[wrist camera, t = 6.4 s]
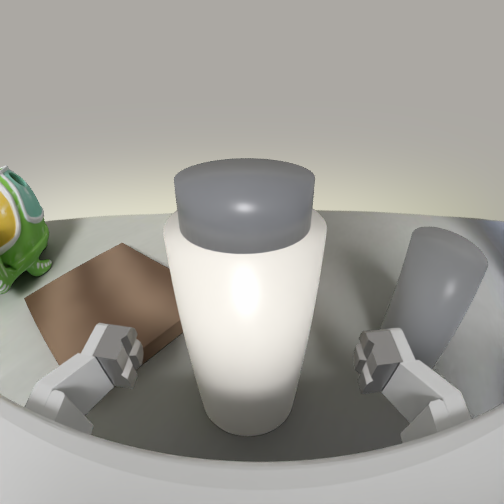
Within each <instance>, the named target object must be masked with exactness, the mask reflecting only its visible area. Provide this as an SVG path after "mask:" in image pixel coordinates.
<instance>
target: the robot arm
mask: <svg viewBox="0 0 504 504" xmlns="http://www.w3.org/2000/svg"><path fill="white" fill-rule="evenodd" d="M137 335H138V334H137V332H136V330H135V328H132V327H125V326H118V325H112V324H105V323H98V324H97V325H96V326H95V328H94V330H93V331H92V333H91V335H90V337H89V339H88V341H87V343H86V345H85V346H84V348H83V350H82V352H81V354H80V353H77V354H76V355H74V356H73V357H71V358H70V359H69V360H67V361H66V362H64V363H63V364H61V365H60V366H58V367H57V368H56V369H54V370H53V371H51V372H50V373H48V374H47V375H45V376H44V377H43V378H41V379H40V380H38V381H37V382H36V384H35V386H34V388H33V390H32V392H31V394H30V396H29V398H28V400H27V403H26V405H25V407H23V406H21V405H19V404H17V403H15V402H14V401H12V400H10V399H8V398H6V397H4V396H3V395H1V394H0V504H504V403H503V404H501V405H499V406H497V407H495V408H493V409H491V410H489V411H487V412H485V413H483V414H481V415H479V416H477V417H474V418H472V419H471V416H470V413H469V411H468V408H467V406H466V403H465V401H464V398H463V396H462V394H461V391H459V390H458V389H457V388H455V387H454V386H453V385H451V384H450V383H449V382H448V381H446V380H445V379H444V378H442V377H441V376H440V375H438V374H437V373H436V372H434V371H433V370H432V369H430V368H429V367H428V366H427V365H425V364H424V363H423V362H421V361H420V360H415V357H414V355H413V353H412V351H411V348H410V346H409V344H408V342H407V340H406V338H405V335H404V333H403V331H402V329H400V328H390V329H379V330H369V331H363V332H362V333H361V334H360V337H359V340H360V343H359V344H358V345H357V346H356V347H355V350H354V355H353V363H354V368H355V370H356V371H357V372H358V373H359V374H360V376H359V378H358V383H359V387H360V391H361V394H366V393H374V392H382V394H383V395H384V396H385V397H386V398H387V399H388V400H389V401H390V402H391V403H392V404H393V405H394V406H395V407H396V409H397V410H398V411H399V412H400V413H401V414H402V415H403V416H404V417H405V418H406V419H407V420H408V421H409V422H410V424H409V425H408V426H407V427H406V428H405V429H404V430H403V431H402V432H401V434H400V435H401V439H402V443H401V444H397V445H394V446H390V447H385V448H381V449H377V450H372V451H367V452H362V453H356V454H350V455H344V456H337V457H330V458H321V459H311V460H298V461H277V462H245V461H224V460H211V459H201V458H193V457H185V456H178V455H172V454H166V453H160V452H155V451H150V450H145V449H141V448H136V447H132V446H128V445H124V444H120V443H117V442H113V441H110V440H106V439H103V438H100V437H96V436H93V435H91V433H92V429H93V424H92V422H90V421H89V420H88V419H87V418H86V416H85V415H86V414H87V413H88V412H89V411H90V410H91V409H92V408H93V407H94V406H95V405H96V404H97V403H98V402H99V401H100V400H101V399H102V398H103V397H104V396H105V395H106V394H107V393H108V392H109V391H110V390H111V389H112V388H113V387H114V386H119V387H124V388H131V389H133V388H134V385H135V382H136V379H137V376H138V374H137V372H136V369H137V368H139V367H140V366H141V364H142V361H143V353H144V352H143V346H142V344H141V342H140V341H139V340H137V339H136V337H137Z"/></svg>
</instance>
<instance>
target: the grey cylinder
mask: <svg viewBox="0 0 504 504" xmlns="http://www.w3.org/2000/svg"><path fill="white" fill-rule="evenodd" d="M487 267H488V261H487V258H486V256H485V255H484V253H483V252H482V251H481V250H480V249H479V248H478V247H477V246H476V245H475V244H473V243H472V242H471V241H469V240H468V239H466V238H464V237H462V236H460V235H458V234H456V233H454V232H451V231H448V230H445V229H441V228H436V227H420V228H417V229H415V230H414V231H413V233H412V236H411V240H410V243H409V247H408V250H407V254H406V257H405V260H404V264H403V267H402V270H401V273H400V276H399V279H398V282H397V285H396V288H395V291H394V293H393V296H392V299H391V302H390V304H389V307H388V309H387V312H386V315H385V317H384V320H383V322H382V325H381V327H380V329H390V328H400V329H402V331H403V333H404V335H405V338H406V340H407V342H408V344H409V346H410V348H411V351H412V353H413V355H414V357H415V360H420V361H421V362H423V363H424V364H425V365H427V366H428V367H429V368H430V369H431V368H432V367H433V366H434V364H435V363H436V361H437V360H438V359H439V357H440V356H441V354H442V352H443V351H444V349H445V348H446V346H447V345H448V343H449V341H450V340H451V338H452V336H453V335H454V333H455V331H456V330H457V328H458V326H459V325H460V323H461V321H462V319H463V317H464V316H465V314H466V312H467V310H468V308H469V306H470V304H471V302H472V300H473V298H474V296H475V294H476V292H477V290H478V288H479V286H480V284H481V281H482V279H483V277H484V275H485V272H486V270H487Z"/></svg>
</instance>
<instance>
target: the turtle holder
mask: <svg viewBox="0 0 504 504" xmlns="http://www.w3.org/2000/svg"><path fill="white" fill-rule="evenodd" d="M48 237H49V231H48V227H47V225H46V224H45V221H44V211H43V209H42V207H41V206H40V204H39V202H38V200H37V198H36V196H35V194H34V193H33V191H32V190H31V188H30V187H29V185H28V184H27V183H26V182H25V181H24V180H23V179H22V178H21V177H20V176H18V175H17V174H15V173H14V172H13V171H11V170H10V169H9V168H8V166H3V167H1V168H0V294H4V293H6V292H7V291H8V290H9V289H10V287H11V285H12V283H13V282H14V280H15V279H16V278H17V277H18V276H19V275H20V274H22V273H23V272H24V271H25V270H27V271H28V272H29V273H30V274H31V275H33V276H41V275H42V274H44V273H45V272H47V271H48V270H49V268H50V267H51V265H52V262H51V260H49V259H46V260H39V255H40V254H41V253H42V251H43V250H44V249H45V248H46V246H47V241H48Z"/></svg>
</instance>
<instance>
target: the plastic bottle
mask: <svg viewBox="0 0 504 504" xmlns="http://www.w3.org/2000/svg"><path fill="white" fill-rule="evenodd" d="M314 183H315V177H314V174H313V173H312V172H311V171H309V170H308V169H306V168H304V167H302V166H299V165H296V164H292V163H288V162H283V161H277V160H268V159H253V158H252V159H251V158H245V159H244V158H241V159H225V160H217V161H210V162H206V163H201V164H197V165H194V166H191V167H188V168H186V169H184V170H182V171H180V172H179V173H178V174H177V175H176V176H175V177H174V184H175V194H176V203H177V211H176V212H174V213H173V214H172V215H171V216H170V217H169V218H168V219H167V221H166V222H165V225H164V228H163V234H164V240H165V246H166V252H167V257H168V263H169V268H170V273H171V279H172V284H173V288H174V293H175V298H176V303H177V307H178V312H179V316H180V320H181V325H182V329H183V333H184V337H185V341H186V345H187V349H188V353H189V356H190V360H191V364H192V368H193V371H194V375H195V378H196V382H197V385H198V389H199V392H200V395H201V398H202V402H203V405H204V408H205V411H206V413H207V415H208V417H209V418H210V419H211V421H212V422H213V423H214V424H215V425H217V426H218V427H219V428H221V429H222V430H224V431H226V432H228V433H231V434H234V435H239V436H257V435H262V434H265V433H268V432H270V431H272V430H274V429H276V428H277V427H279V426H280V425H281V424H282V423H283V422H284V421H285V420H286V418H287V417H288V415H289V414H290V411H291V409H292V405H293V402H294V398H295V394H296V390H297V386H298V382H299V377H300V373H301V369H302V365H303V360H304V356H305V351H306V347H307V342H308V337H309V333H310V328H311V323H312V318H313V312H314V307H315V302H316V296H317V291H318V285H319V279H320V273H321V267H322V260H323V254H324V247H325V240H326V233H327V226H326V222H325V220H324V219H323V217H322V216H321V215H320V214H319V213H318V212H317V211H315V210H314V209H312V205H313V195H314Z"/></svg>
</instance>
